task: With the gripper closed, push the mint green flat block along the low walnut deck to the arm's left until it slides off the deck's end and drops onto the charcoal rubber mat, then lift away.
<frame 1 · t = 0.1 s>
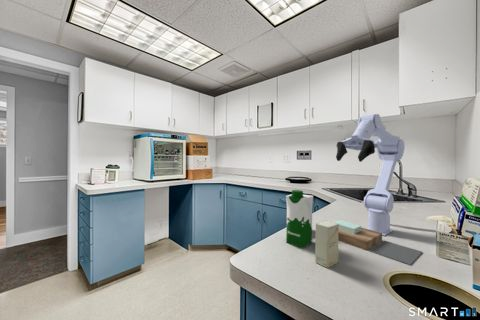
hand: (348, 159, 72), 32 cm above the countertop, tool tilted 50°, fingers open, 7 cm apart
milk carton: (299, 243, 77), on the countertop
mint green flat block: (346, 228, 84), point 3 cm above the countertop, touching deck
deck: (352, 238, 82), on the countertop
skincare box: (326, 262, 63), on the countertop
mat: (396, 251, 70), on the countertop
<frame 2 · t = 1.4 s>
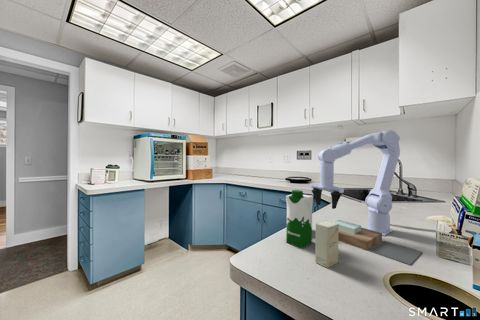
hand: (326, 206, 91), 10 cm above the countertop, tool pointing down, fingers open, 7 cm apart
nothing on the countertop moved.
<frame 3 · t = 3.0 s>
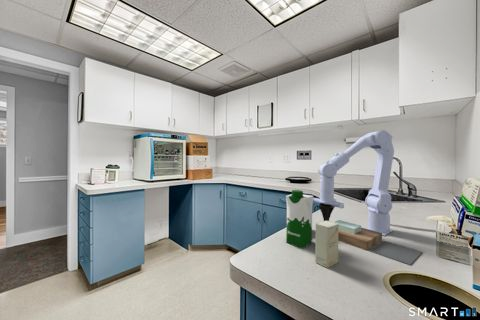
hand: (326, 220, 91), 4 cm above the countertop, tool pointing down, fingers closed
nothing on the countertop moved.
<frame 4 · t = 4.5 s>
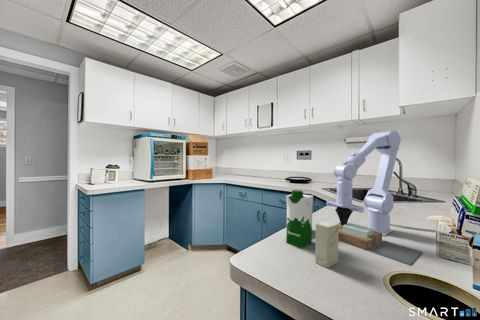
hand: (343, 225, 84), 4 cm above the countertop, tool pointing down, fingers closed
mint green flat block: (357, 232, 80), point 3 cm above the countertop, touching deck, gripper
everything else where it was.
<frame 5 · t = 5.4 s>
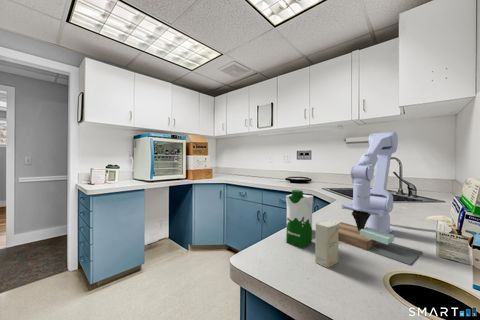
hand: (360, 230, 79), 4 cm above the countertop, tool pointing down, fingers closed
mint green flat block: (376, 237, 75), point 3 cm above the countertop, touching gripper
everything else where it was.
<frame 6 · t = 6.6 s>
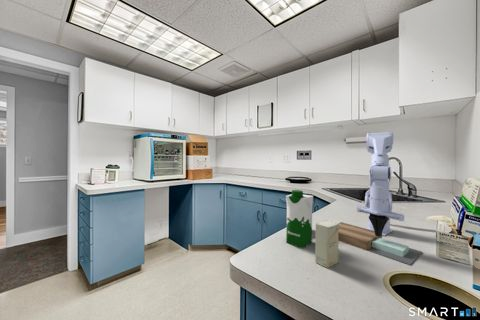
hand: (378, 235, 74), 4 cm above the countertop, tool pointing down, fingers closed
mint green flat block: (389, 249, 71), resting on mat
everything else where it was.
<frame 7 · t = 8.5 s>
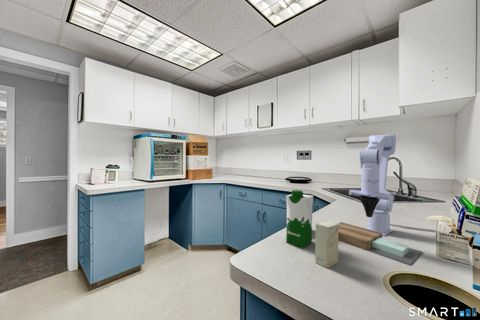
hand: (369, 216, 77), 10 cm above the countertop, tool pointing down, fingers closed
nothing on the countertop moved.
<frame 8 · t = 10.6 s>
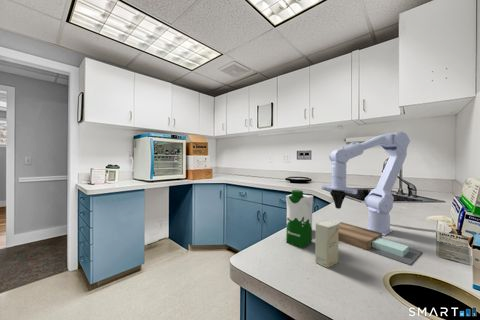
hand: (338, 208, 88), 10 cm above the countertop, tool pointing down, fingers closed
nothing on the countertop moved.
at the end: mint green flat block resting on mat; mint green flat block inside the target area on the mat (1.7 cm from its centre), point 0.3 cm above the mat's base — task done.
